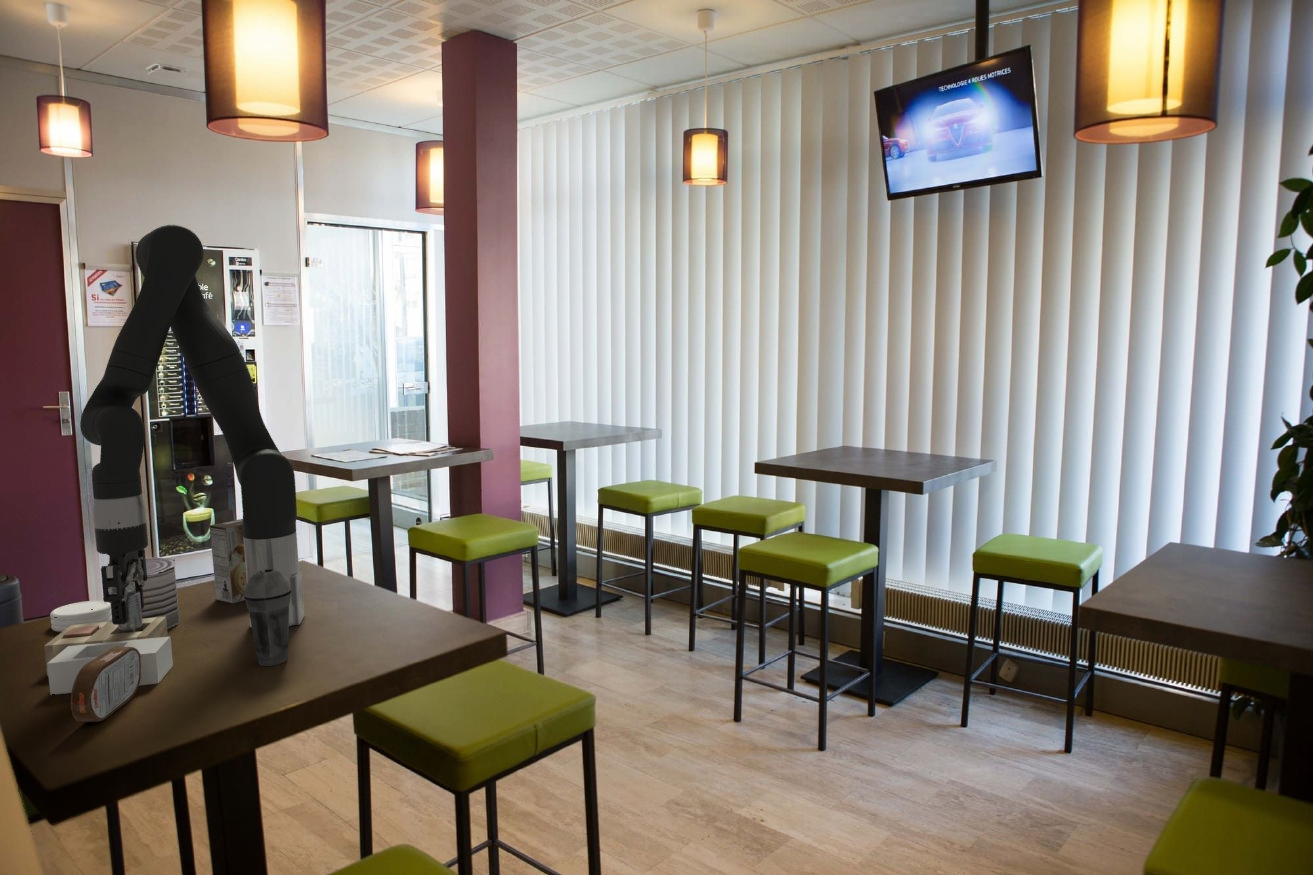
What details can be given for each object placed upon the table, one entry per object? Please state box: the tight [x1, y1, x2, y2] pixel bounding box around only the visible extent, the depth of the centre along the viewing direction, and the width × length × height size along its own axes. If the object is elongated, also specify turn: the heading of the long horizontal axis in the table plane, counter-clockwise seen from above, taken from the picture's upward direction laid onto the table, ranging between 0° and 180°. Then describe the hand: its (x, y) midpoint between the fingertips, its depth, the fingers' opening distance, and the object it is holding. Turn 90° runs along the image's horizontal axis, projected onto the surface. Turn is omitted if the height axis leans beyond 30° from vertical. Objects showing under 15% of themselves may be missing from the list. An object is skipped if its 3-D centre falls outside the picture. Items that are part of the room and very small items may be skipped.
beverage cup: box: [244, 545, 292, 667], centre depth 146 cm, size 7×7×20 cm
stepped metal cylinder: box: [118, 581, 143, 634], centre depth 150 cm, size 4×4×13 cm
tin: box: [70, 646, 141, 724], centre depth 128 cm, size 15×3×8 cm, turn 5°
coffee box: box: [209, 518, 247, 604], centre depth 186 cm, size 9×6×16 cm
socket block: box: [43, 617, 169, 677], centre depth 150 cm, size 15×11×5 cm
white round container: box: [49, 600, 112, 633], centre depth 170 cm, size 10×10×4 cm
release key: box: [63, 625, 99, 638], centre depth 149 cm, size 4×4×4 cm
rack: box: [47, 636, 174, 696], centre depth 140 cm, size 15×8×5 cm, turn 104°
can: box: [114, 557, 180, 630], centre depth 167 cm, size 11×11×12 cm
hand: (128, 616), depth 150 cm, fingers open, 7 cm apart
